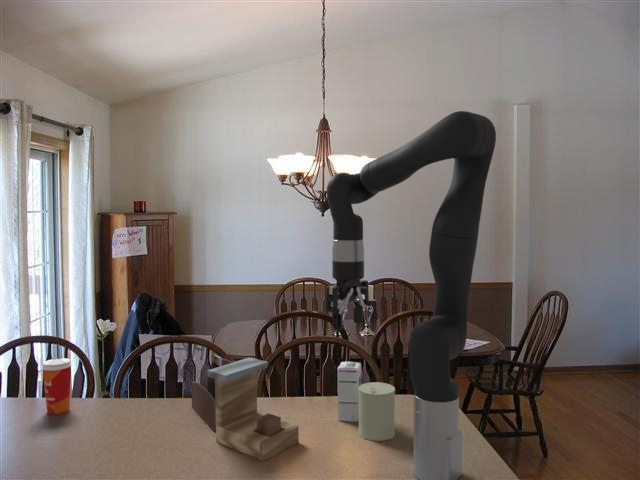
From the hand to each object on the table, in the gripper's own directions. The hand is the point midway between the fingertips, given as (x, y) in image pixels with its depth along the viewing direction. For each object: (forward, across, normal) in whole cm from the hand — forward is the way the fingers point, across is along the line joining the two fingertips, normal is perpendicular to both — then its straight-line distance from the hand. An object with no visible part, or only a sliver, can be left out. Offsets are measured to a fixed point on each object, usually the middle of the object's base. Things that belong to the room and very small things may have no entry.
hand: (348, 326), depth 128 cm
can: (+28, +8, -3) cm, 30 cm away
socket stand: (+28, -14, +17) cm, 36 cm away
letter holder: (+28, -8, +37) cm, 47 cm away
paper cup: (+28, -34, +75) cm, 87 cm away
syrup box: (+28, +12, +8) cm, 32 cm away
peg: (+28, -14, +13) cm, 34 cm away
